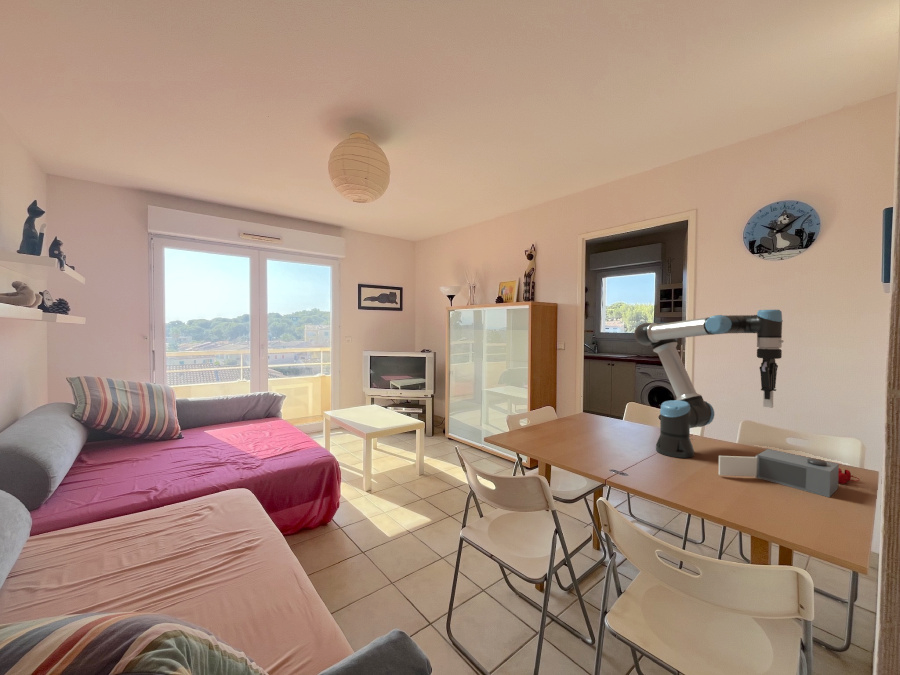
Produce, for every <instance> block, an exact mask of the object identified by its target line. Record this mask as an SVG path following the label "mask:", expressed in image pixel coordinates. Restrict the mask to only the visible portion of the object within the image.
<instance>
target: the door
mask: <svg viewBox="0 0 900 675" xmlns="http://www.w3.org/2000/svg"><path fill="white" fill-rule="evenodd" d="M757 455H758V454H755V456H736V455H733V456H731V455H718V476H725V477H727V476H729V477H749V478H750V477H753V478H756V479H759V478H758V477H759V456H757Z"/></svg>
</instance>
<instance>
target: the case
mask: <svg viewBox="0 0 900 675" xmlns="http://www.w3.org/2000/svg"><path fill="white" fill-rule="evenodd" d="M756 455H757V456H759V477H758V478H757V479H760V480H764V481H766V482H767V481H768V482H772V483H775V484H779V485H782V486H786V487H790V488H794V489H797V490H800V491H805V492H808V493H812V494H815V495H819V496H822V497H826V498H830V497H831V496H833V494H834V493H836V491H837V490H838V489H839V483H838V473H839V468H840V467H839V466H840V465H839V463H836V462H832V461H826V460H824V459H823V460H822V459H818V458H814V457H809V456H803V455H799V454H793V453H790V452H785V451H780V450H777V449H776V450H775V449H772V448H767V449H765V450H764V451H762V452H760V453H758V454H756Z"/></svg>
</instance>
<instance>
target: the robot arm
mask: <svg viewBox="0 0 900 675" xmlns="http://www.w3.org/2000/svg"><path fill="white" fill-rule="evenodd" d="M756 313H757V314H753V315H752V314H751V315H750V314H749V315H748V314H747V315H746V314H745V315H744V314H743V315H742V314H739V315H737V314H736V315H733V314H732V315H726V314H725V315H722V314H716V315H712V316H709V317H708V316H706V317H700V318H694V319H686V320H680V321H673V322H645V323H641V324H639V325H637V327H636V328H635V330H634V334H633V335H634V338H635V341H636V342H637V343H638V344H640V345H643V346H650V347H651V349H652V351H653V352H654V353H656V354H657V355H658V357H659V360H660V362H661V364H662V367H663V369H664V371H665V373H666V376H667V379H668V380H669V383H670V385H671V387H672V389H673V392H674V395H675V396H676V398H675V399H676V400H671V399H670V400H666V401H663V402H662V403H661V404H660V409H659V411H660V412H659V413H660V414H659V415H660V425H659V426H660V430H659V431H660V432H659V437H658V438H657V442H656V444H655V451H656V452H658V453H659V454H661V455H664V456H666V457H667V456H668V457H671V458H679V459H686V458H687V459H688V458H689V459H690V458H693V457H694V456H695V449H694V447H693V443H692V441H691V438H690V432H691V429H692V428H702V427H705V426H708V425H710V424H711V423H712V422H713V420H714V419H715V410H714V407H713V405H711V403H709V402H707V401H705V400H704V398H703V396H702V394H699V393H697V391H696V389H695V387H694V385H693V382H692V380H691V378H690V376H689V374H688V371H687V370H686V367H685V365H684V363H683V359H682V358H681V356H680V353H679V351H678V349H677V345H678V339H682V338H692V337H693V338H694V337H702V336H713V335H724V334H727V335H728V334H756V347H757V349H756V357H757V358H758V359H762V362H761V363H760V366H759V372H760V384H761V388H760V391H761V392H762V391H763V396H762V397H763V401H762V404H763V405H762V406H763V408H768V409H769V408H770V409H773V408H774V392H776V391H777V389H776V388H777V387H776V384H777V383H776V382H777V374H778V368H779V365H778V364H777V362H776V360H779V359H782V352H783V351H782V349H781V348H782V347H783V346H782V345H783V343H784V340H783V338H782V336H783V335H782V334H783V333H782V332H783V313H782V310H780V309H759V310H758V311H757V312H756Z"/></svg>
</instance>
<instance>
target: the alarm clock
mask: <svg viewBox="0 0 900 675" xmlns="http://www.w3.org/2000/svg"><path fill="white" fill-rule="evenodd" d="M842 471H843V470H842V469H841V468H840V467H839V473H838V485H845V484H847V483H848V482H849V481H851V482H859V481H860V479H861V478H859V477H856V476H854V475H852V474H851V471H850V470H849V469H844V472H842ZM852 478H853V479H852ZM854 478H855V479H857V480H854Z"/></svg>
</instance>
